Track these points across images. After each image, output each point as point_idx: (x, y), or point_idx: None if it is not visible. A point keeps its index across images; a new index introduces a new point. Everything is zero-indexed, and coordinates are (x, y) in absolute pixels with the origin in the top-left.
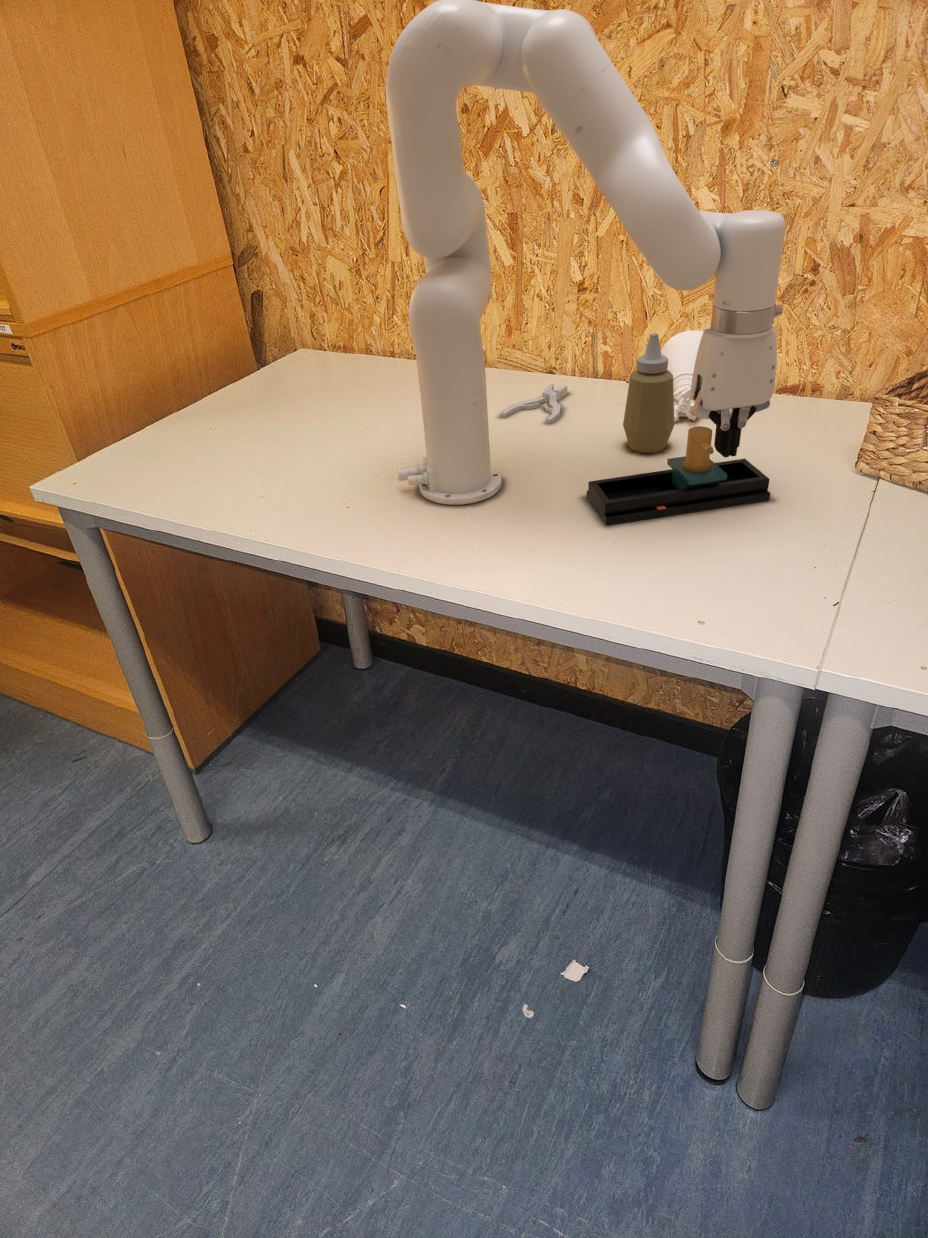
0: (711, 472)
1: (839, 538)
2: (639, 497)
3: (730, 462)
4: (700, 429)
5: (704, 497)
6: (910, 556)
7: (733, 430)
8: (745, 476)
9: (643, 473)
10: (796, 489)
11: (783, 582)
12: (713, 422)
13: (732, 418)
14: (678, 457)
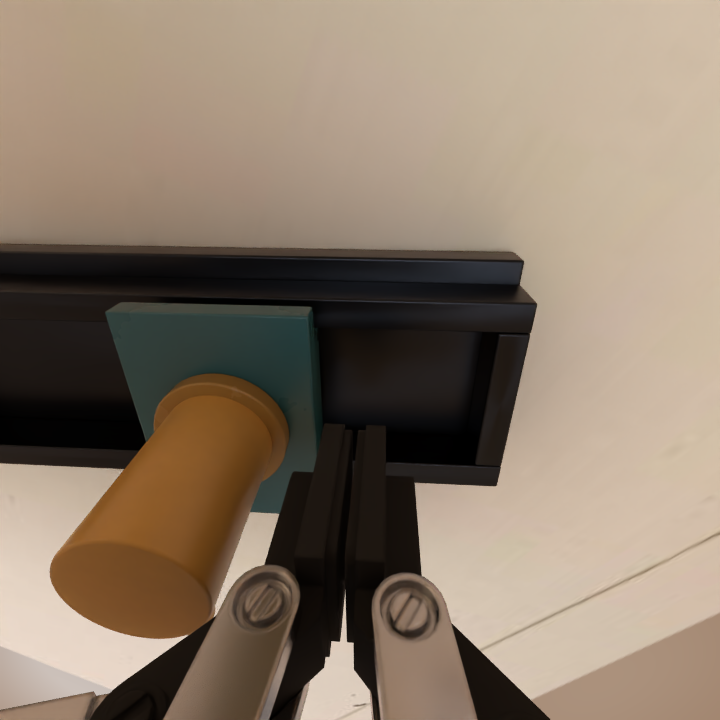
0: (267, 488)
1: (502, 611)
2: (19, 460)
3: (447, 321)
4: (136, 583)
5: None
6: (569, 673)
7: (347, 638)
8: (479, 355)
9: (28, 295)
10: (609, 417)
11: None
12: (239, 578)
13: (372, 654)
14: (163, 318)
